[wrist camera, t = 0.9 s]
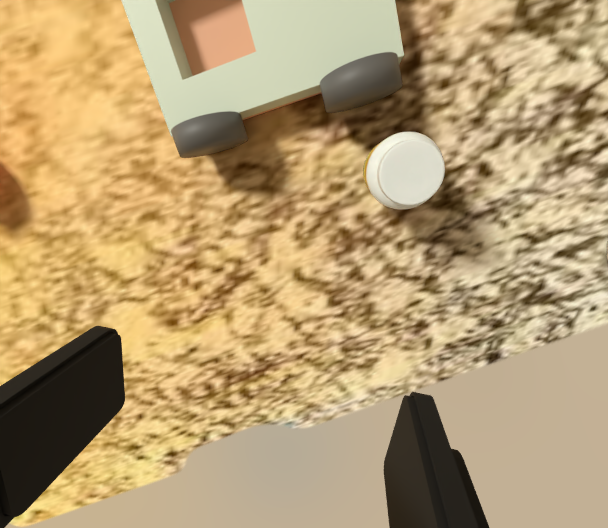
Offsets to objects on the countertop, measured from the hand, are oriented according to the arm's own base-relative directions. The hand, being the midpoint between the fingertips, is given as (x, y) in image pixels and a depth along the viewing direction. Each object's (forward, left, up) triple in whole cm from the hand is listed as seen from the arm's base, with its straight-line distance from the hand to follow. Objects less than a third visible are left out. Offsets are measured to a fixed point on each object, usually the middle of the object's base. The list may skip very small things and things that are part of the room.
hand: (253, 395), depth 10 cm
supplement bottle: (-8, -5, -23) cm, 25 cm away
